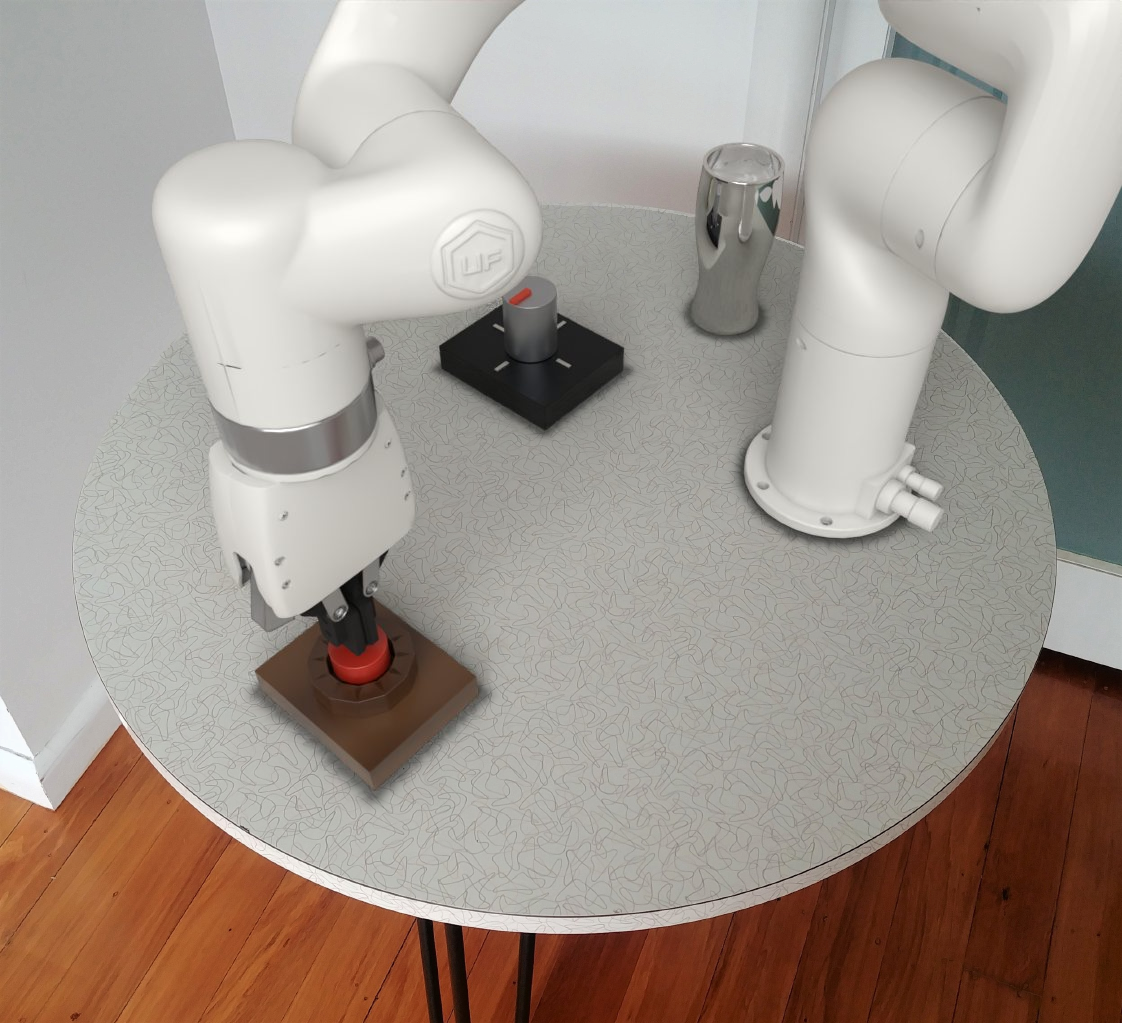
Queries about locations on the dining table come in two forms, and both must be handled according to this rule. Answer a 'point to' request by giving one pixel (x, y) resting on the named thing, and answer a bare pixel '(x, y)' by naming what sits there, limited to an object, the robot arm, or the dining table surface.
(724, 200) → the beer glass
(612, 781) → the dining table surface
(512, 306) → the tap knob
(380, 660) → the button
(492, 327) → the plate
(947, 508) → the dining table surface
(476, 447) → the dining table surface
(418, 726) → the button block
